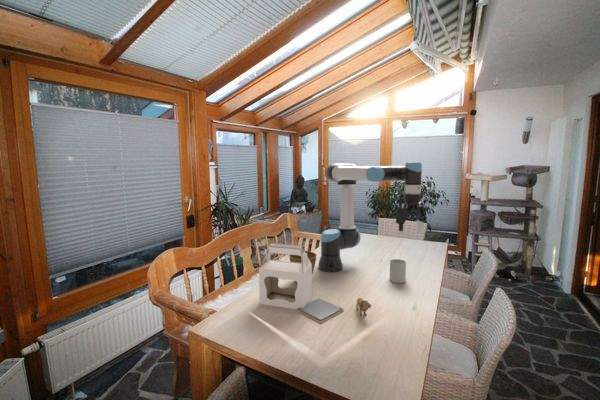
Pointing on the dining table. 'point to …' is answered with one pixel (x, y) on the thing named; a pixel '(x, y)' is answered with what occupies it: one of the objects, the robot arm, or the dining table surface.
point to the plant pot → (299, 260)
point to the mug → (397, 271)
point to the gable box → (285, 276)
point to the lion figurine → (363, 306)
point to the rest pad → (320, 310)
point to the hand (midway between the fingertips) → (411, 235)
